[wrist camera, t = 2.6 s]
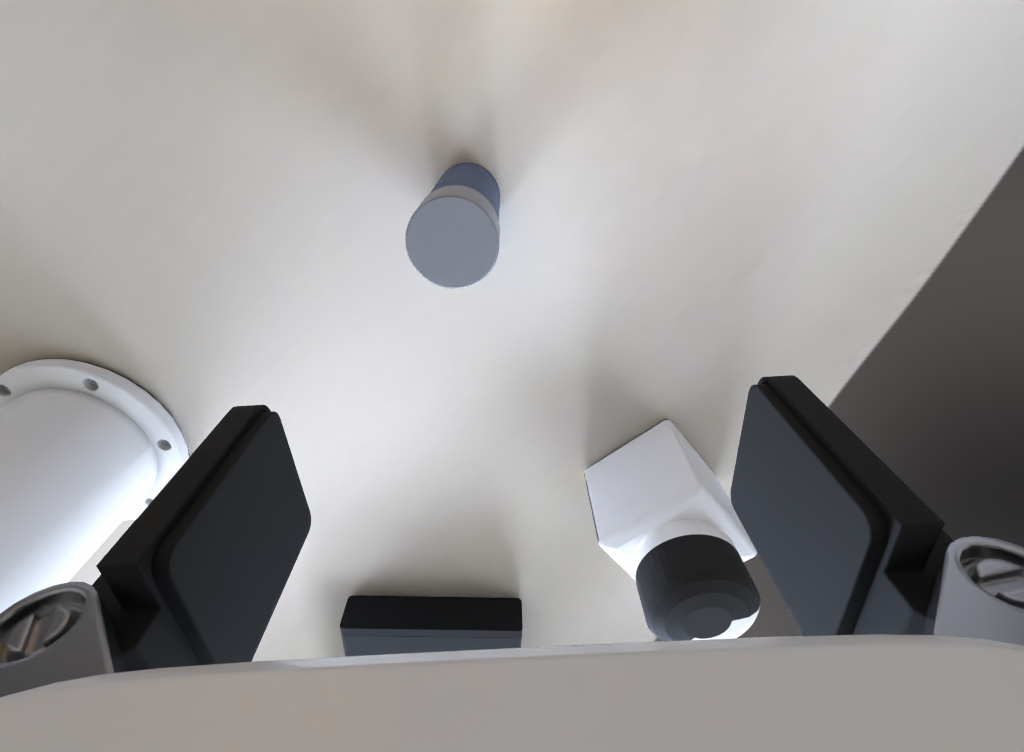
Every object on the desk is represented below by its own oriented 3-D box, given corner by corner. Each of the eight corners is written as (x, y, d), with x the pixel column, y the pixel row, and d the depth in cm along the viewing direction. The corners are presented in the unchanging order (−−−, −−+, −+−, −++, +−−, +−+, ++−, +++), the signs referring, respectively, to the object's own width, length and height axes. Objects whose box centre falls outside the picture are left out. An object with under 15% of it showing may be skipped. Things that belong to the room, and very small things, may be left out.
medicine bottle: (581, 469, 38) (611, 618, 27) (667, 415, 35) (736, 553, 25) (636, 526, 40) (682, 681, 30) (719, 479, 38) (801, 628, 28)
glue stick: (440, 231, 29) (413, 292, 21) (431, 164, 28) (397, 199, 19) (503, 226, 29) (502, 285, 20) (497, 159, 28) (495, 191, 19)
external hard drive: (521, 598, 44) (522, 631, 41) (510, 748, 55) (510, 781, 52) (349, 595, 43) (339, 628, 41) (372, 747, 54) (366, 781, 52)
